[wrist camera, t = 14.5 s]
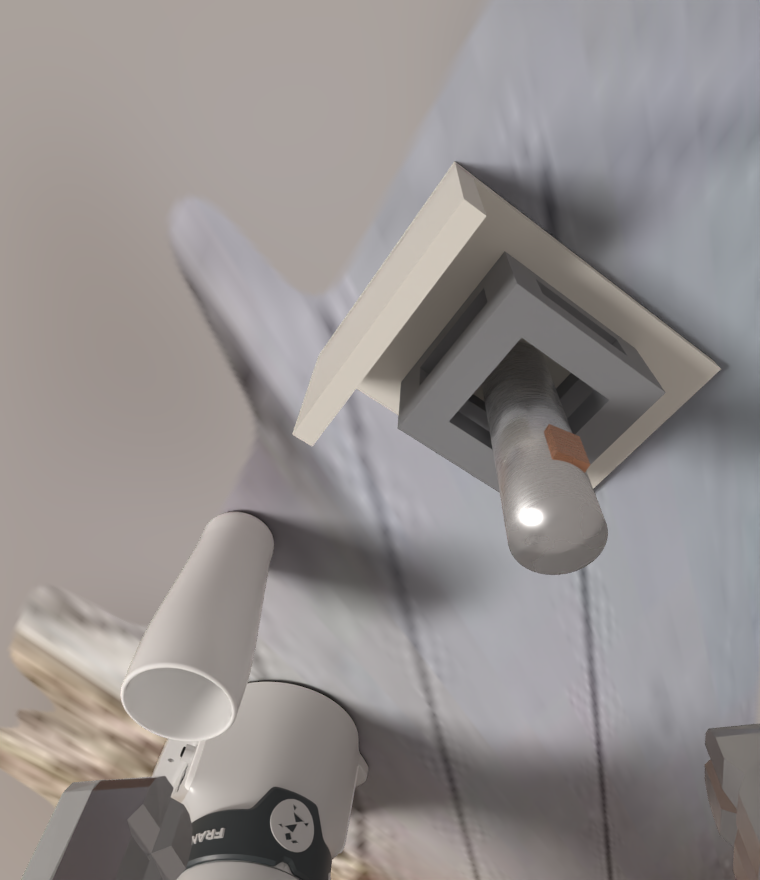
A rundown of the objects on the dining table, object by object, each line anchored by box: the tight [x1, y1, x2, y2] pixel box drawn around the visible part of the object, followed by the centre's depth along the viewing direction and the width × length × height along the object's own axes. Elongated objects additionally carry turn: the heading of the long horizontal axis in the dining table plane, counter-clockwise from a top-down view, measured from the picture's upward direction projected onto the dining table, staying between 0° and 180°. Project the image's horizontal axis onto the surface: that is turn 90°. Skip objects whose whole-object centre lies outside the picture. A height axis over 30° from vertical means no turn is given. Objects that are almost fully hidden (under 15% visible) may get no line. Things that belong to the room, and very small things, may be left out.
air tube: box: [482, 342, 608, 575], centre depth 35 cm, size 4×4×16 cm
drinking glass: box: [120, 512, 274, 742], centre depth 44 cm, size 7×7×15 cm
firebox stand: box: [292, 161, 721, 493], centre depth 38 cm, size 14×20×10 cm
